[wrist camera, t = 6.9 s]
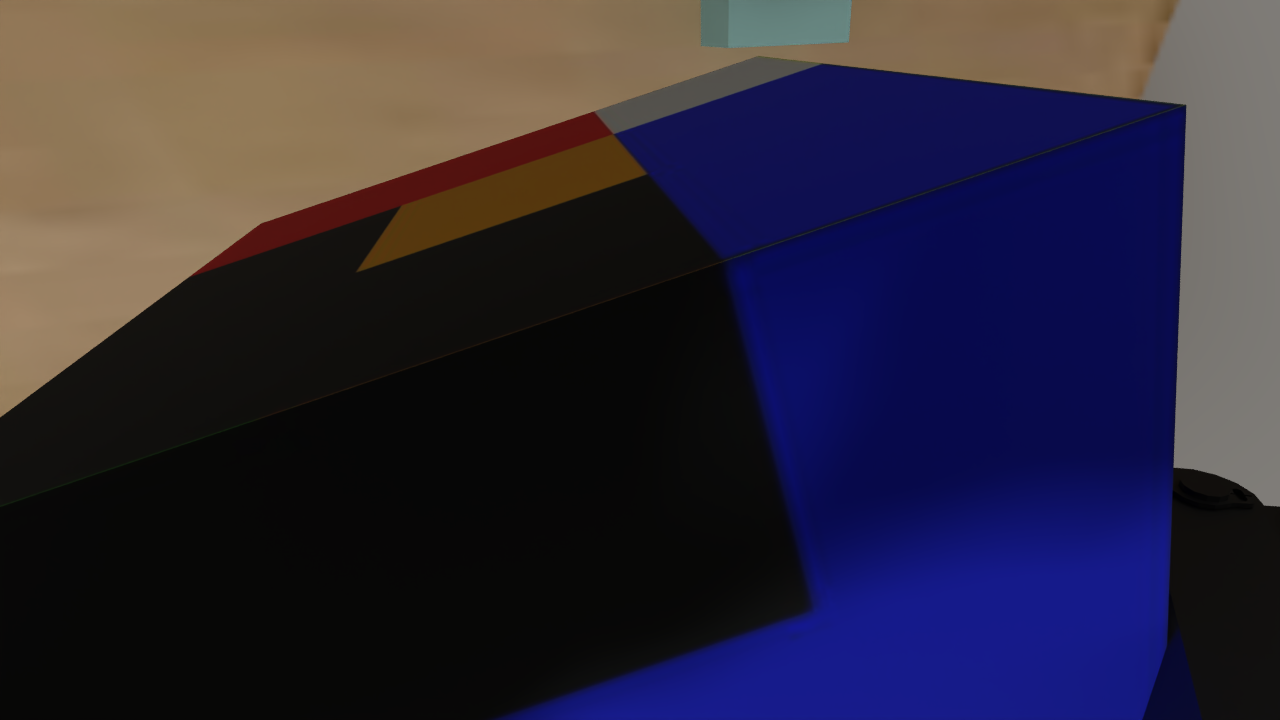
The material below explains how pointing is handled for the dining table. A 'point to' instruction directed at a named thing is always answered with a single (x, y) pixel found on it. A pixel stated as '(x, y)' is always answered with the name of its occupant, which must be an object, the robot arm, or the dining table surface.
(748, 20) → the dusty teal cube
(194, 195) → the dining table surface
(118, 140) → the dining table surface
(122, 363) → the puzzle toy
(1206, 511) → the robot arm
